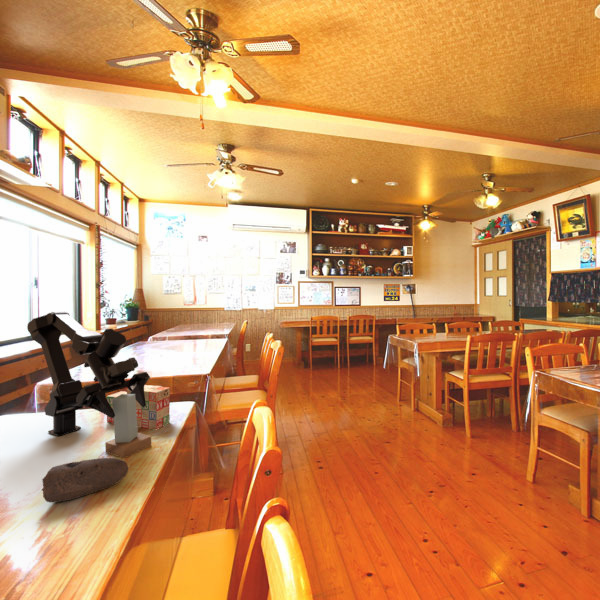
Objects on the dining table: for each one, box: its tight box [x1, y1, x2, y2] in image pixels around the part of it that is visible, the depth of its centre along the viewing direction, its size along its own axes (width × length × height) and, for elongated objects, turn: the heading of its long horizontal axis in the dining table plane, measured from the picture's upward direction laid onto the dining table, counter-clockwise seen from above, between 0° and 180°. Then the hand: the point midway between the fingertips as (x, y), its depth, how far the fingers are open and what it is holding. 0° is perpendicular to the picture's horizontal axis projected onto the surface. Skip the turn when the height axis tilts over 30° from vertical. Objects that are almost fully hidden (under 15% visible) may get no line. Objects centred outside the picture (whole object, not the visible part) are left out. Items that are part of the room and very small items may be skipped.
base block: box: [104, 432, 152, 459], centre depth 85 cm, size 8×8×3 cm
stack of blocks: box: [106, 384, 171, 431], centre depth 104 cm, size 21×6×12 cm, turn 72°
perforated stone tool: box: [41, 457, 129, 504], centre depth 66 cm, size 15×5×7 cm, turn 122°
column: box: [112, 394, 139, 443], centre depth 85 cm, size 4×4×12 cm
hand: (130, 411), depth 85 cm, fingers open, 9 cm apart
